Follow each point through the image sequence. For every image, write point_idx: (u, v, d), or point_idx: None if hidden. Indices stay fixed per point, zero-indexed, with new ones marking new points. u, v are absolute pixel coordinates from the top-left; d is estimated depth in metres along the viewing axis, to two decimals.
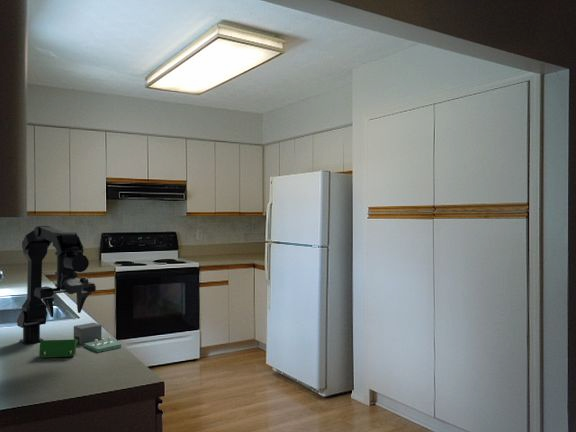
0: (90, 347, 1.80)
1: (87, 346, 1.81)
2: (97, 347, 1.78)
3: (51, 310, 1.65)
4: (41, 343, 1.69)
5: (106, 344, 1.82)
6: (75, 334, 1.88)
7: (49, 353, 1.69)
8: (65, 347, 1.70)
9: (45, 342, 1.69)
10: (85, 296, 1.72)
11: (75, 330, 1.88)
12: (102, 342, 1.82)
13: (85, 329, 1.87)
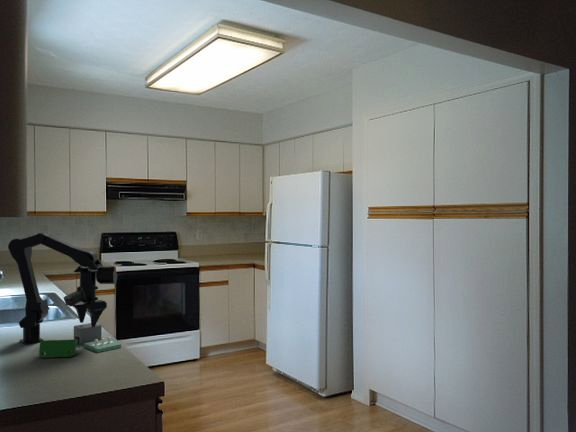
0: (90, 347, 1.80)
1: (87, 346, 1.81)
2: (97, 347, 1.78)
3: (78, 316, 1.93)
4: (41, 343, 1.69)
5: (106, 344, 1.82)
6: (75, 334, 1.88)
7: (49, 353, 1.69)
8: (65, 347, 1.70)
9: (45, 342, 1.69)
10: (89, 312, 1.85)
11: (75, 330, 1.88)
12: (102, 342, 1.82)
13: (85, 329, 1.87)
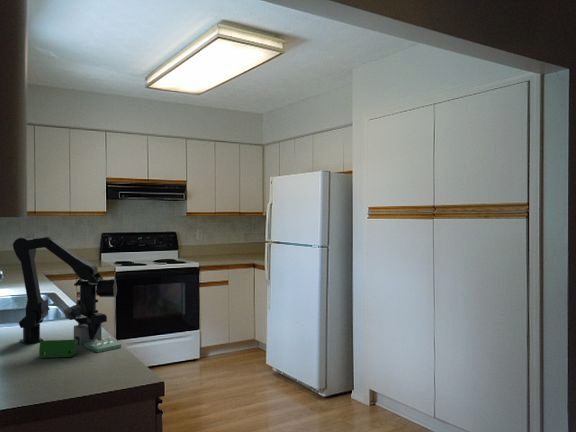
0: (90, 347, 1.80)
1: (87, 346, 1.81)
2: (97, 347, 1.78)
3: None
4: (41, 343, 1.69)
5: (106, 344, 1.82)
6: (75, 334, 1.88)
7: (49, 353, 1.69)
8: (65, 348, 1.70)
9: (45, 342, 1.69)
10: (88, 325, 1.86)
11: (75, 330, 1.88)
12: (102, 342, 1.82)
13: (85, 329, 1.87)
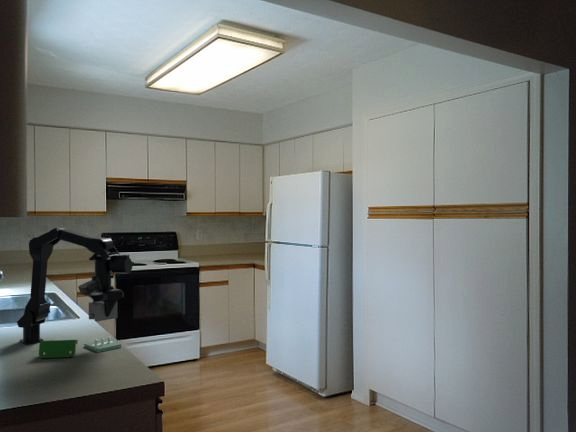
0: (90, 347, 1.80)
1: (87, 346, 1.81)
2: (97, 347, 1.78)
3: None
4: (41, 343, 1.69)
5: (106, 344, 1.82)
6: (90, 311, 1.81)
7: (49, 353, 1.69)
8: (65, 348, 1.70)
9: (45, 342, 1.69)
10: (103, 301, 1.78)
11: (90, 307, 1.81)
12: (102, 342, 1.82)
13: (101, 305, 1.79)
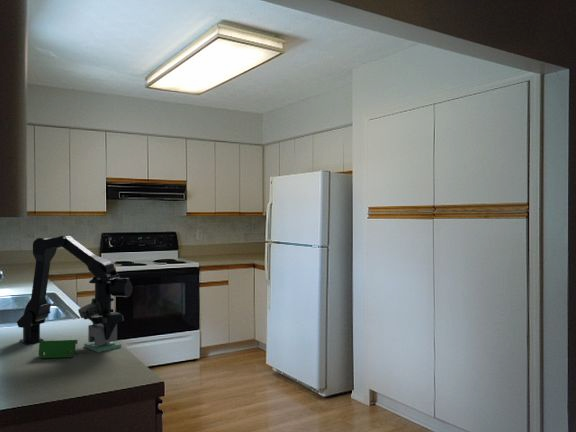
0: (90, 347, 1.80)
1: (87, 346, 1.81)
2: (97, 347, 1.78)
3: None
4: (40, 344, 1.69)
5: (106, 344, 1.82)
6: (90, 334, 1.81)
7: (49, 353, 1.68)
8: (65, 348, 1.70)
9: (44, 343, 1.69)
10: (103, 325, 1.78)
11: (90, 330, 1.81)
12: None
13: (100, 329, 1.79)
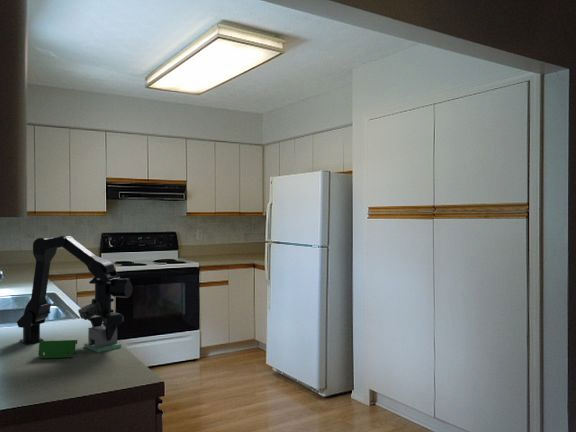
0: (90, 347, 1.80)
1: (87, 346, 1.81)
2: (97, 347, 1.78)
3: None
4: (40, 344, 1.68)
5: None
6: (90, 336, 1.81)
7: (48, 353, 1.68)
8: (65, 348, 1.70)
9: (44, 343, 1.69)
10: (105, 326, 1.77)
11: (90, 332, 1.81)
12: None
13: (100, 331, 1.79)
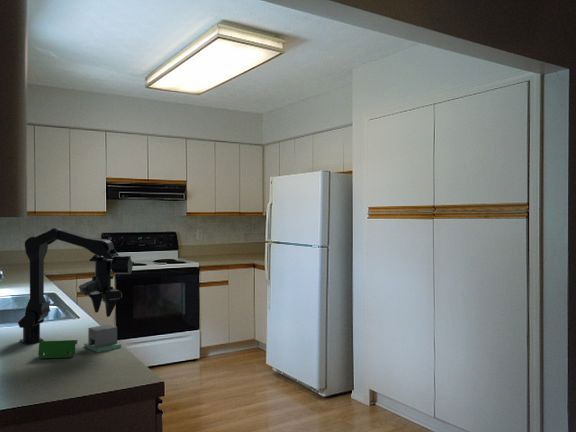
0: (90, 347, 1.80)
1: (87, 346, 1.81)
2: (97, 347, 1.78)
3: (93, 306, 1.91)
4: (40, 344, 1.68)
5: None
6: (90, 336, 1.81)
7: (48, 353, 1.68)
8: (64, 348, 1.69)
9: (44, 343, 1.69)
10: (104, 302, 1.83)
11: (90, 332, 1.81)
12: None
13: (100, 331, 1.79)
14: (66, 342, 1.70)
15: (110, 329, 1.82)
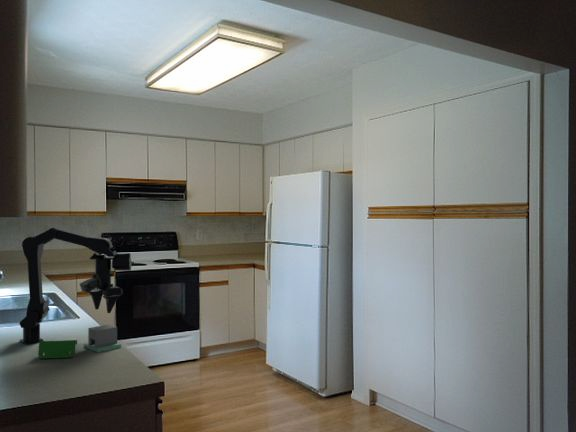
0: (90, 347, 1.80)
1: (87, 346, 1.81)
2: (97, 347, 1.78)
3: (94, 303, 1.95)
4: (40, 344, 1.68)
5: None
6: (90, 336, 1.81)
7: (48, 353, 1.68)
8: (64, 348, 1.69)
9: (44, 343, 1.68)
10: (105, 298, 1.87)
11: (90, 332, 1.81)
12: None
13: (100, 331, 1.79)
14: (66, 342, 1.70)
15: (110, 329, 1.82)
